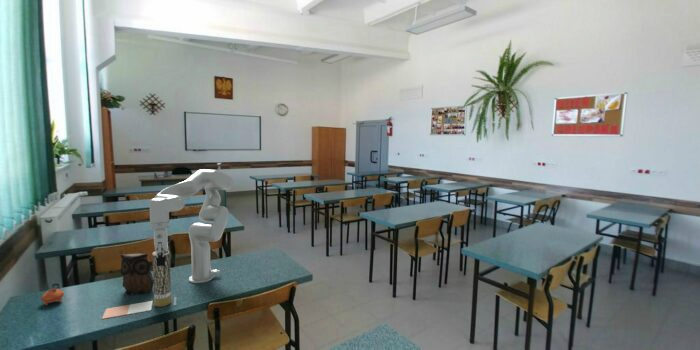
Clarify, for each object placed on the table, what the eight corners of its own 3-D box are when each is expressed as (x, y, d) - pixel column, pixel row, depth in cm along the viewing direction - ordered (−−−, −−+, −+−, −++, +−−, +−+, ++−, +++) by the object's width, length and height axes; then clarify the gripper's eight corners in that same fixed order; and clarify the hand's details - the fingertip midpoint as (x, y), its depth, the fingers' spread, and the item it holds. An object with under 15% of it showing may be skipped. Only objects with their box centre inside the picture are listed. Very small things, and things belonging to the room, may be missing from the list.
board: (176, 297, 160) (176, 296, 160) (176, 305, 152) (176, 305, 152) (106, 309, 148) (106, 308, 148) (101, 319, 140) (101, 318, 140)
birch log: (160, 299, 157) (158, 249, 155) (174, 300, 157) (172, 250, 155) (151, 307, 151) (149, 254, 148) (165, 307, 151) (163, 255, 148)
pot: (69, 296, 158) (66, 285, 156) (58, 308, 151) (55, 296, 148) (50, 297, 156) (47, 285, 154) (38, 309, 149) (35, 296, 147)
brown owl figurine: (155, 291, 165) (153, 253, 163) (125, 299, 157) (122, 259, 155) (149, 283, 174) (147, 247, 172) (120, 290, 166) (118, 252, 164)
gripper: (168, 228, 144) (169, 268, 146) (169, 219, 159) (171, 255, 161) (148, 230, 140) (150, 270, 142) (151, 221, 156) (153, 257, 158)
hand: (161, 262), depth 152 cm, fingers closed on birch log, 6 cm apart
